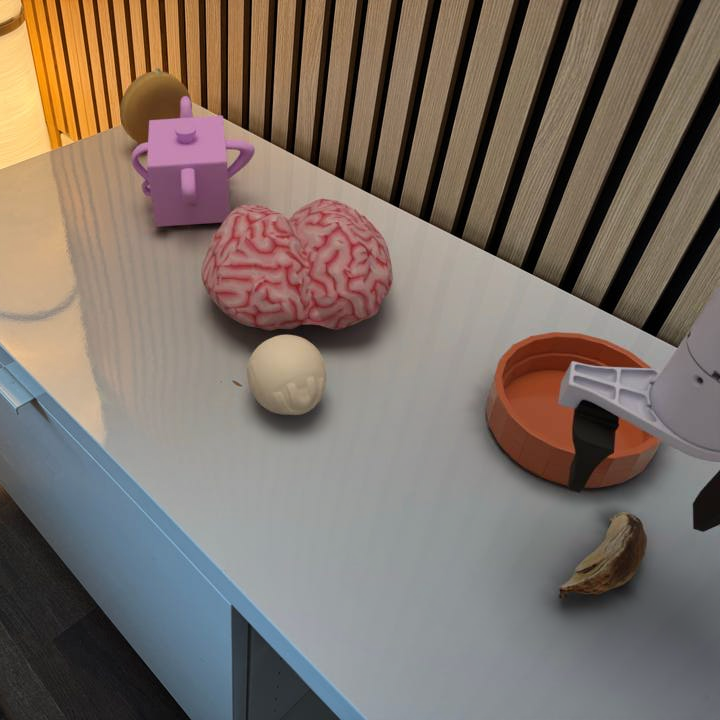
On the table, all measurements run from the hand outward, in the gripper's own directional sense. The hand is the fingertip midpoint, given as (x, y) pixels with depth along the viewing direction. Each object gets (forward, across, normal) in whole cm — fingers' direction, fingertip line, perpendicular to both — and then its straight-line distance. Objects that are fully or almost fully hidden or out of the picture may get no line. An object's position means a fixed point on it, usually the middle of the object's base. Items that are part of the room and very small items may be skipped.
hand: (635, 498), depth 49 cm
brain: (+12, +30, -22) cm, 39 cm away
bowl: (+9, +2, -13) cm, 16 cm away
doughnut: (+14, +56, -44) cm, 73 cm away
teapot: (+13, +46, -34) cm, 59 cm away
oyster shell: (+9, -1, 0) cm, 9 cm away
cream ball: (+11, +26, -8) cm, 29 cm away
